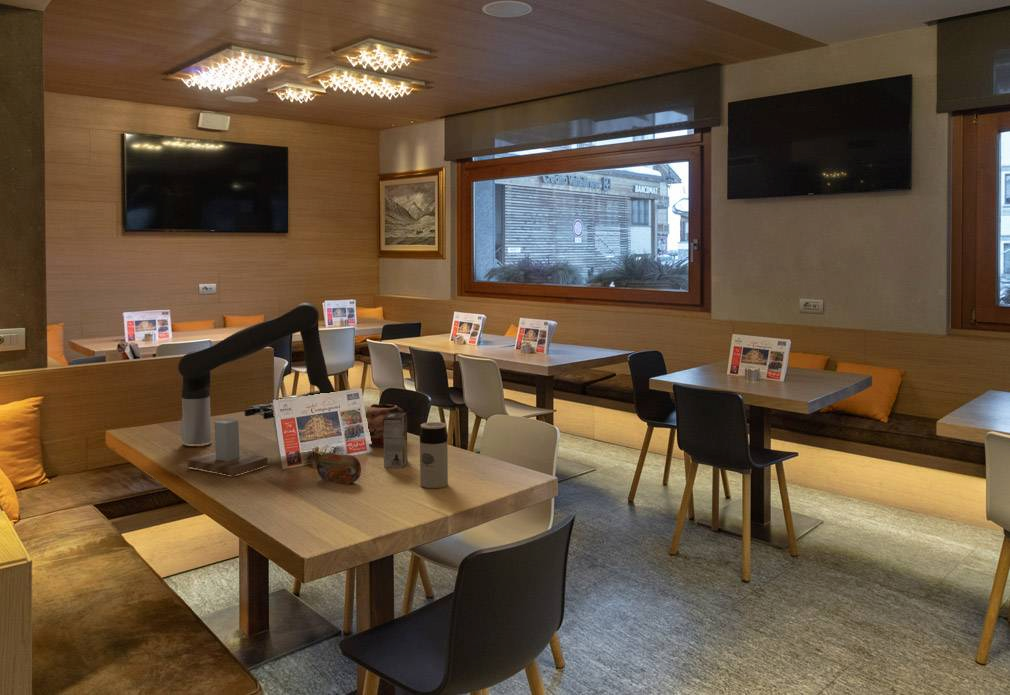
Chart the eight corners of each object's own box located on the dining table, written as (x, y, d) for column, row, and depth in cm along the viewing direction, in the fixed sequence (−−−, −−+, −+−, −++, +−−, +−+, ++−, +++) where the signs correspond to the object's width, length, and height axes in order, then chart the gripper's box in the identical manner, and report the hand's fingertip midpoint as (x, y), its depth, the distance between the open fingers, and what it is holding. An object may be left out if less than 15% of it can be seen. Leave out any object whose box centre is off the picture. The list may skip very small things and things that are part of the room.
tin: (316, 479, 232) (315, 452, 231) (323, 477, 235) (322, 449, 234) (356, 486, 225) (355, 458, 224) (362, 483, 228) (362, 455, 227)
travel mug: (433, 479, 231) (433, 420, 229) (453, 484, 226) (452, 424, 224) (414, 485, 225) (413, 425, 223) (434, 490, 220) (433, 428, 218)
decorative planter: (388, 436, 290) (387, 399, 288) (415, 439, 284) (414, 402, 283) (354, 447, 272) (353, 408, 271) (382, 451, 266) (381, 411, 265)
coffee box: (388, 460, 254) (387, 412, 252) (407, 460, 254) (407, 412, 252) (383, 467, 245) (382, 418, 243) (403, 468, 245) (403, 418, 243)
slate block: (215, 459, 244) (214, 421, 242) (228, 455, 248) (227, 419, 247) (227, 461, 241) (225, 423, 240) (239, 457, 246) (238, 420, 244)
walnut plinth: (187, 469, 244) (187, 459, 243) (223, 459, 256) (222, 450, 255) (233, 477, 234) (232, 467, 234) (267, 466, 246) (267, 457, 246)
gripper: (275, 394, 272) (239, 401, 258) (305, 398, 265) (270, 405, 251) (275, 415, 273) (239, 423, 259) (305, 419, 266) (270, 428, 252)
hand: (254, 414), depth 255 cm, fingers open, 8 cm apart
